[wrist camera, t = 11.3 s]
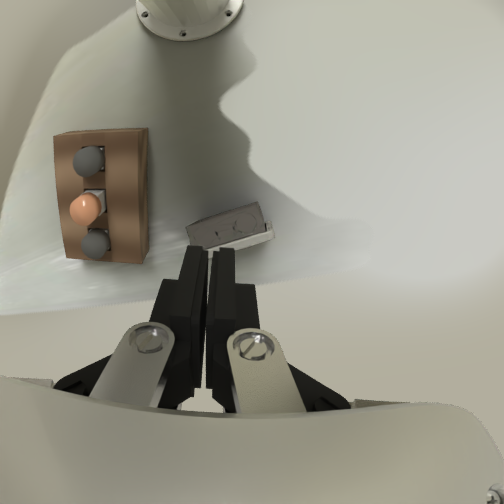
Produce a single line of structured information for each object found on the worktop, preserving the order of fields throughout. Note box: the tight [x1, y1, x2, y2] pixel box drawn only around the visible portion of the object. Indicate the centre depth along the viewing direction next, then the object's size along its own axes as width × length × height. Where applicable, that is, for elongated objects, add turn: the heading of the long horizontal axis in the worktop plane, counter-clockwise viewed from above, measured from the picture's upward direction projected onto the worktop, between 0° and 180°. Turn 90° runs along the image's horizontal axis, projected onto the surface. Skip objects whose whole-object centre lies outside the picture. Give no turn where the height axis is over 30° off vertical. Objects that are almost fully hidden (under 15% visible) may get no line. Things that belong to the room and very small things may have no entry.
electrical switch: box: [186, 202, 275, 258], centre depth 35 cm, size 9×5×9 cm, turn 107°
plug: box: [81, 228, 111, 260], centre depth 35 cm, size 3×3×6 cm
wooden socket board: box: [53, 128, 149, 264], centre depth 34 cm, size 16×11×4 cm
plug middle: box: [70, 189, 107, 226], centre depth 32 cm, size 3×3×6 cm
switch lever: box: [73, 145, 105, 177], centre depth 31 cm, size 3×3×6 cm
